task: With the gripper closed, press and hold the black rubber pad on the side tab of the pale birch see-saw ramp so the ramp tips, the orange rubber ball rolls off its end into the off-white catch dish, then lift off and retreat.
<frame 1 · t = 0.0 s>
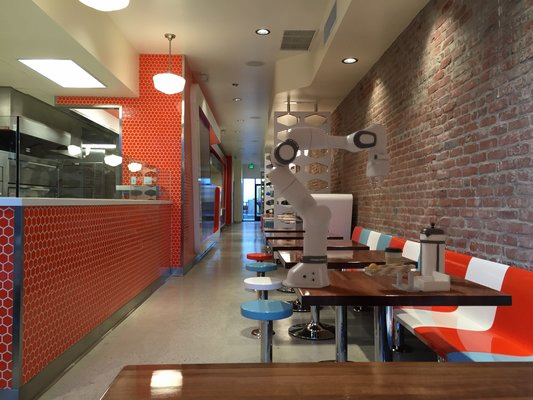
hand: (377, 185, 205), 48 cm above the table, fingers open, 8 cm apart
lever ramp: (389, 268, 197), point 9 cm above the table, hinge at -6.2°, touching ball
coffee press: (432, 279, 219), on the table
coffee cup: (393, 276, 229), on the table
catch dish: (429, 288, 195), on the table
ball: (373, 267, 191), point 10 cm above the table, tilted 8°, touching lever ramp
lever stand: (404, 288, 194), on the table
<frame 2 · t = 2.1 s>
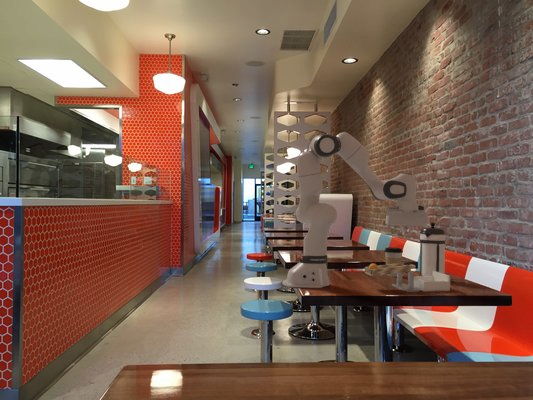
hand: (406, 235, 203), 24 cm above the table, fingers closed
nothing on the table moved.
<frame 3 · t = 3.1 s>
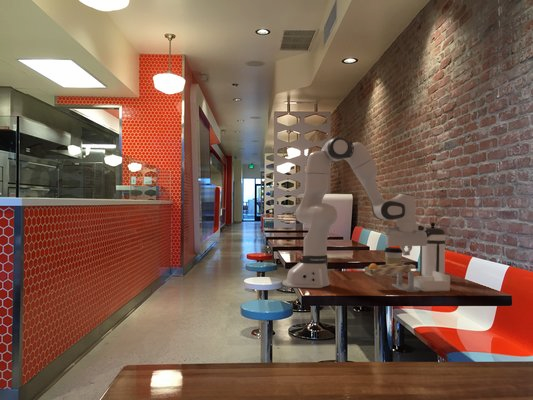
hand: (406, 255, 203), 14 cm above the table, fingers closed
nothing on the table moved.
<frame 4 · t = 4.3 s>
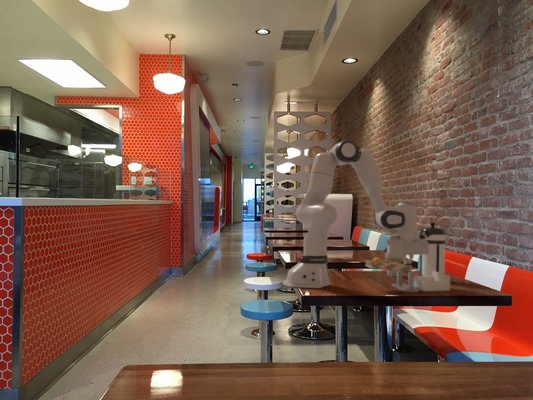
hand: (407, 264, 203), 10 cm above the table, fingers closed, pressing on lever ramp
lever ramp: (390, 265, 197), point 10 cm above the table, hinge at 4.8°, touching ball, gripper
ball: (376, 261, 192), point 12 cm above the table, tilted 33°, touching lever ramp
everything else where it was.
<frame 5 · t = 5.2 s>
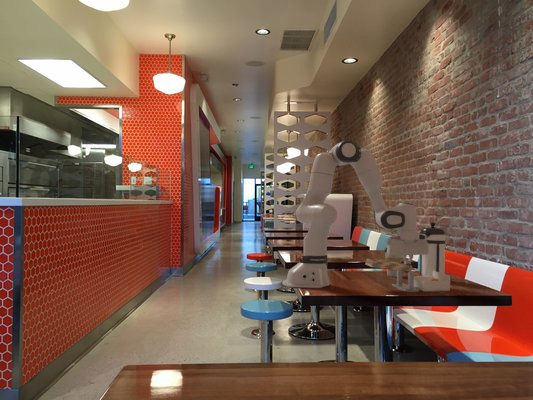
hand: (407, 264, 203), 10 cm above the table, fingers closed
lever ramp: (390, 265, 197), point 10 cm above the table, hinge at 6.7°, touching gripper
ball: (435, 282, 196), point 3 cm above the table, tilted 173°, touching catch dish
everything else where it was.
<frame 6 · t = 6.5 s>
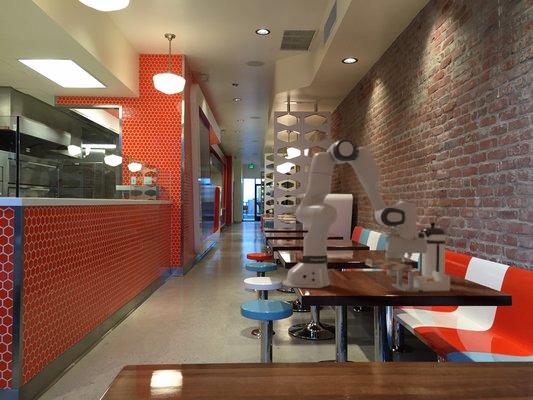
hand: (405, 262, 203), 11 cm above the table, fingers closed
lever ramp: (390, 265, 197), point 10 cm above the table, hinge at 6.8°
ball: (430, 282, 195), point 3 cm above the table, tilted 120°, touching catch dish
everything else where it was.
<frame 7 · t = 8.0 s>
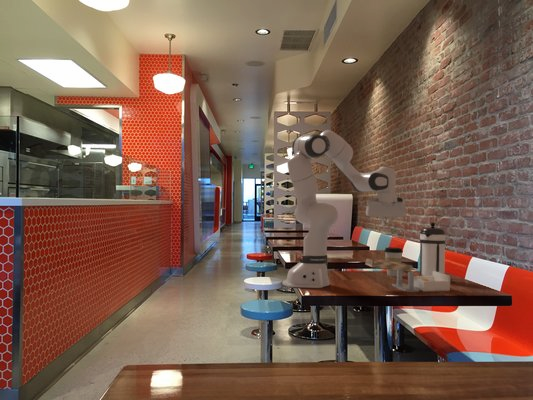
hand: (385, 225, 212), 28 cm above the table, fingers closed
ball: (425, 282, 195), point 3 cm above the table, tilted 43°, touching catch dish
everything else where it was.
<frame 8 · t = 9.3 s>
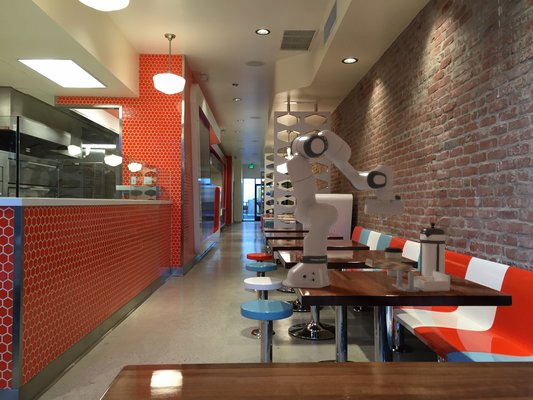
hand: (383, 223, 213), 29 cm above the table, fingers closed
ball: (422, 282, 195), point 3 cm above the table, touching catch dish
everything else where it was.
at the end: ball inside the target area on the catch dish (3.5 cm from its centre), point 2.6 cm above the catch dish's base; ball moved 24.8 cm from its start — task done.
